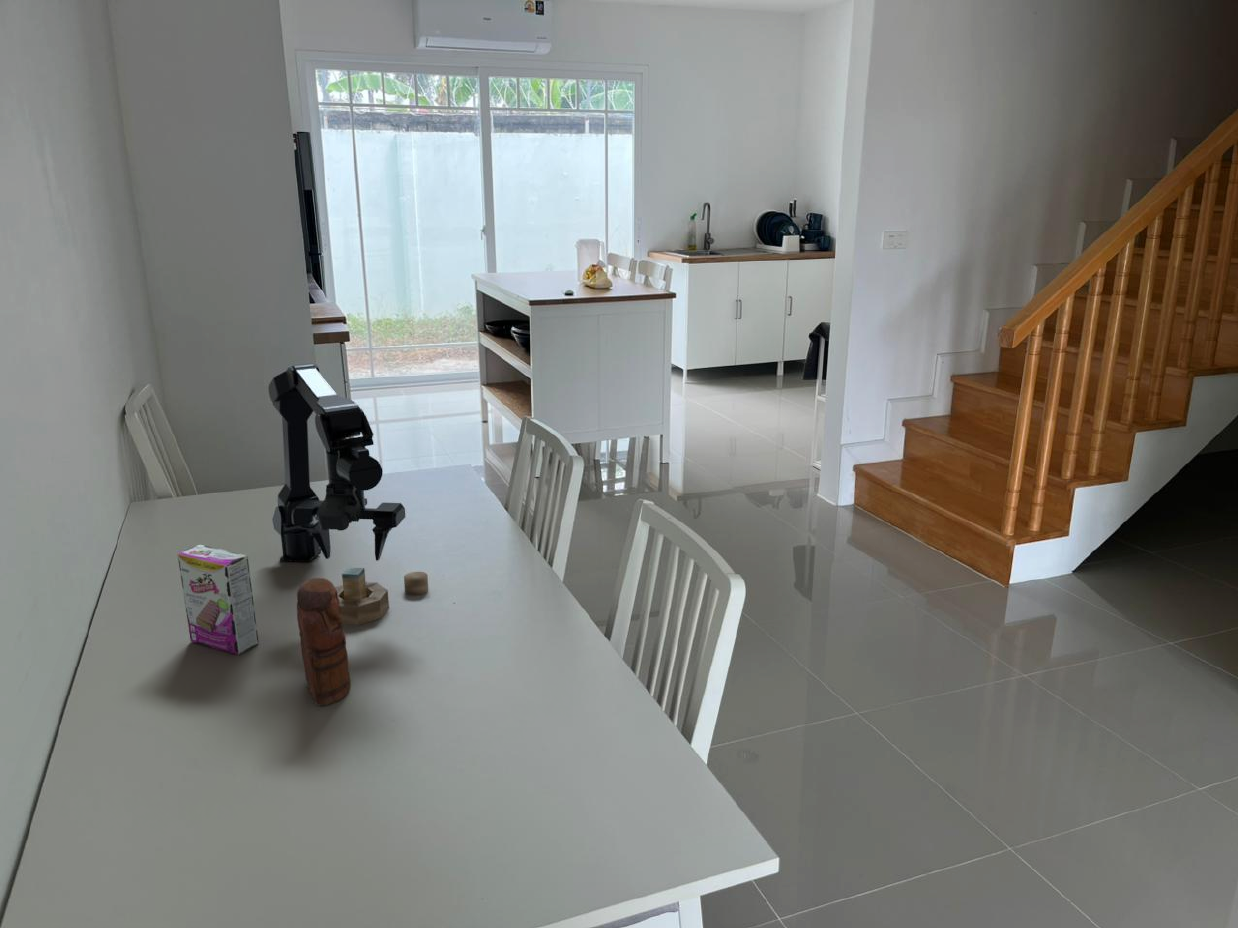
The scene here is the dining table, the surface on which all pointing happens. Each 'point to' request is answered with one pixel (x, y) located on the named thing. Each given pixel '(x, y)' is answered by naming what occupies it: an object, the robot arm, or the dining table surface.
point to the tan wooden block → (354, 584)
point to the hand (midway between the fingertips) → (352, 558)
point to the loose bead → (416, 583)
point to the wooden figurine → (322, 641)
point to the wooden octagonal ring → (364, 605)
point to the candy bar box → (218, 598)
